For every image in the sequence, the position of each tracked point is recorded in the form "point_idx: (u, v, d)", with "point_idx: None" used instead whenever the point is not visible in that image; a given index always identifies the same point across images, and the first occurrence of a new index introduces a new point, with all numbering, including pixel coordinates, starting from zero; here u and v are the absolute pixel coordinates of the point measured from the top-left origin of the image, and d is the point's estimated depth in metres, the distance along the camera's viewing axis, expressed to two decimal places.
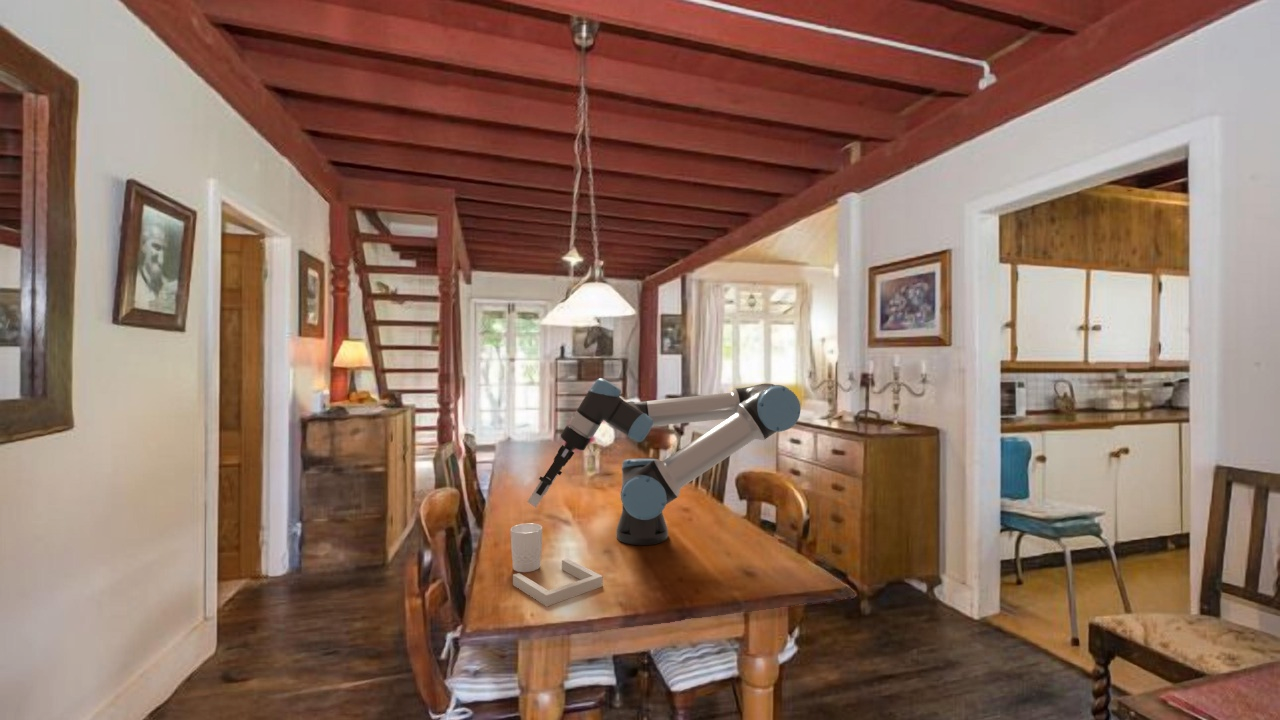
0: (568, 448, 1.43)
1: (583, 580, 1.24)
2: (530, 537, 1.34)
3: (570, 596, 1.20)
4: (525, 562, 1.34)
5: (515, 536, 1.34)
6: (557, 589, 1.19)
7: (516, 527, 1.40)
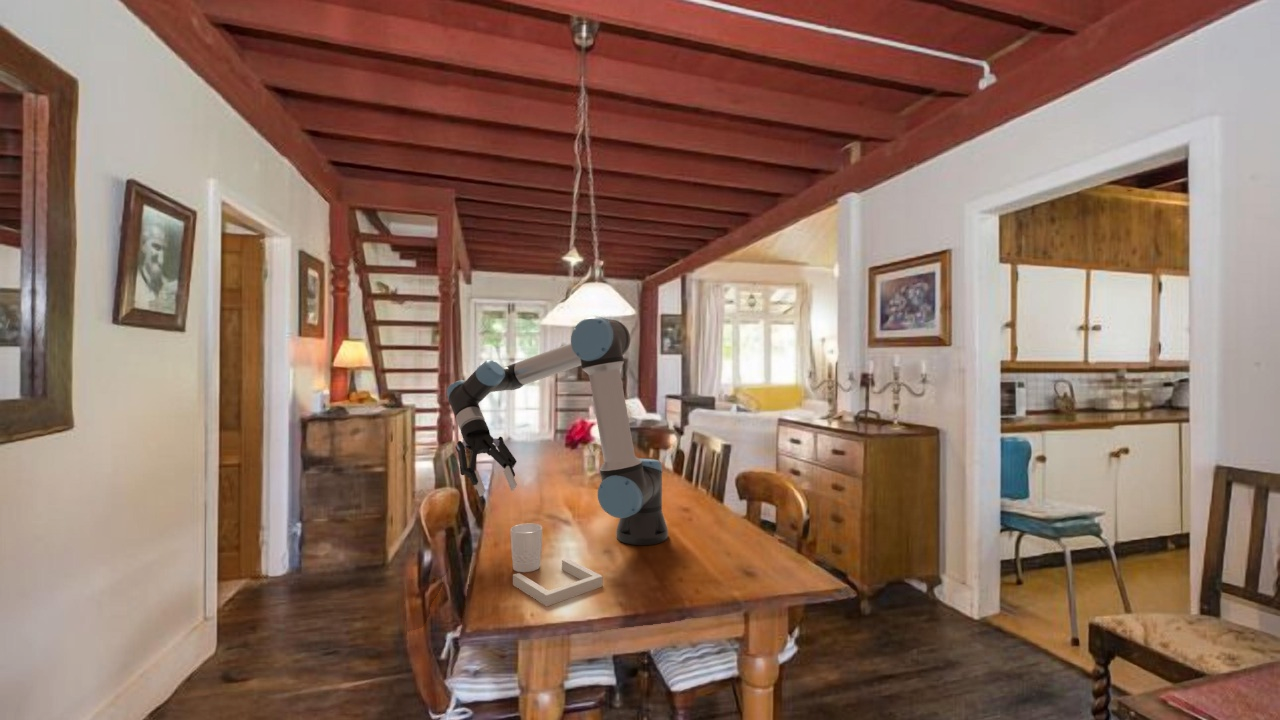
0: (465, 440, 1.55)
1: (583, 580, 1.24)
2: (530, 537, 1.34)
3: (570, 596, 1.20)
4: (525, 562, 1.34)
5: (515, 536, 1.34)
6: (557, 589, 1.19)
7: (516, 527, 1.40)
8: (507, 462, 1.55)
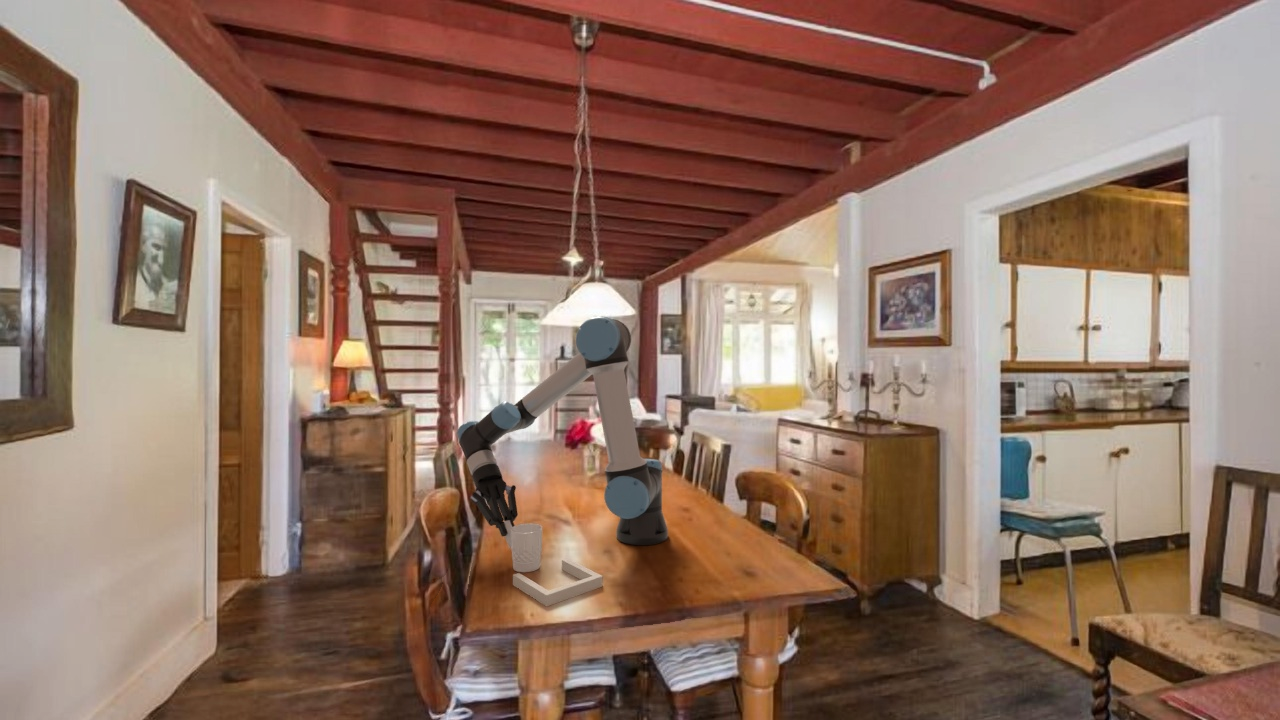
0: (476, 488, 1.47)
1: (583, 580, 1.24)
2: (531, 537, 1.34)
3: (570, 596, 1.20)
4: (525, 562, 1.34)
5: (515, 536, 1.34)
6: (557, 589, 1.19)
7: (516, 527, 1.40)
8: (508, 515, 1.45)
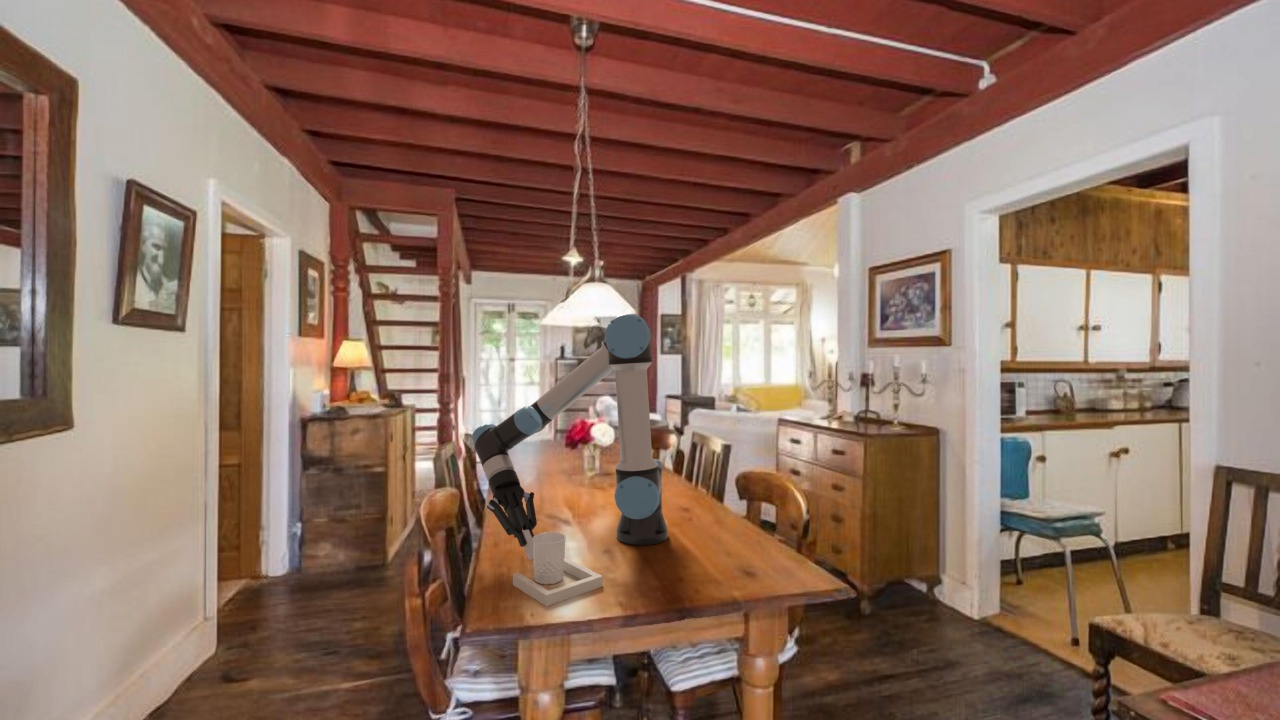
0: (493, 496, 1.40)
1: (583, 580, 1.24)
2: (553, 548, 1.27)
3: (570, 596, 1.20)
4: (547, 574, 1.27)
5: (537, 546, 1.27)
6: (557, 589, 1.19)
7: (538, 536, 1.33)
8: (527, 524, 1.37)
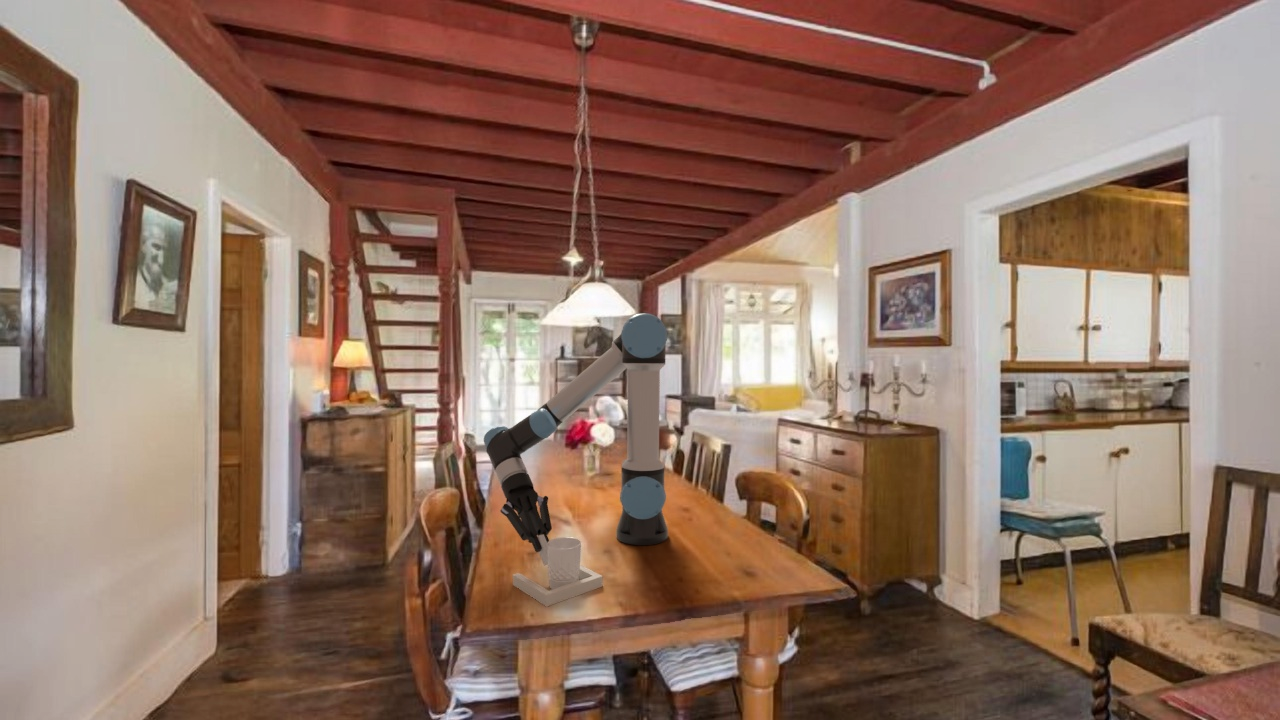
0: (507, 500, 1.36)
1: (583, 580, 1.24)
2: (567, 554, 1.23)
3: (570, 596, 1.20)
4: (561, 580, 1.23)
5: (550, 551, 1.24)
6: (557, 589, 1.19)
7: (554, 541, 1.29)
8: (542, 529, 1.34)
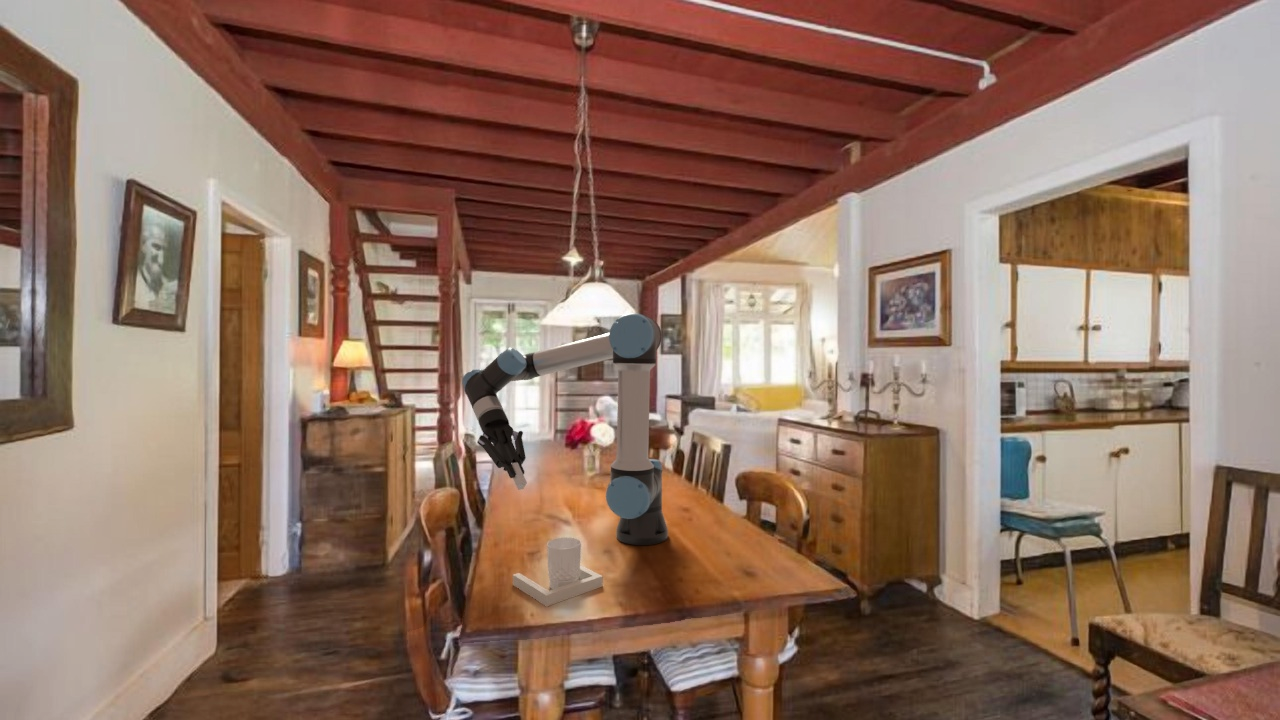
0: (483, 432, 1.46)
1: (583, 580, 1.24)
2: (567, 554, 1.23)
3: (570, 596, 1.20)
4: (561, 580, 1.23)
5: (550, 551, 1.24)
6: (557, 589, 1.19)
7: (554, 541, 1.29)
8: (516, 458, 1.43)
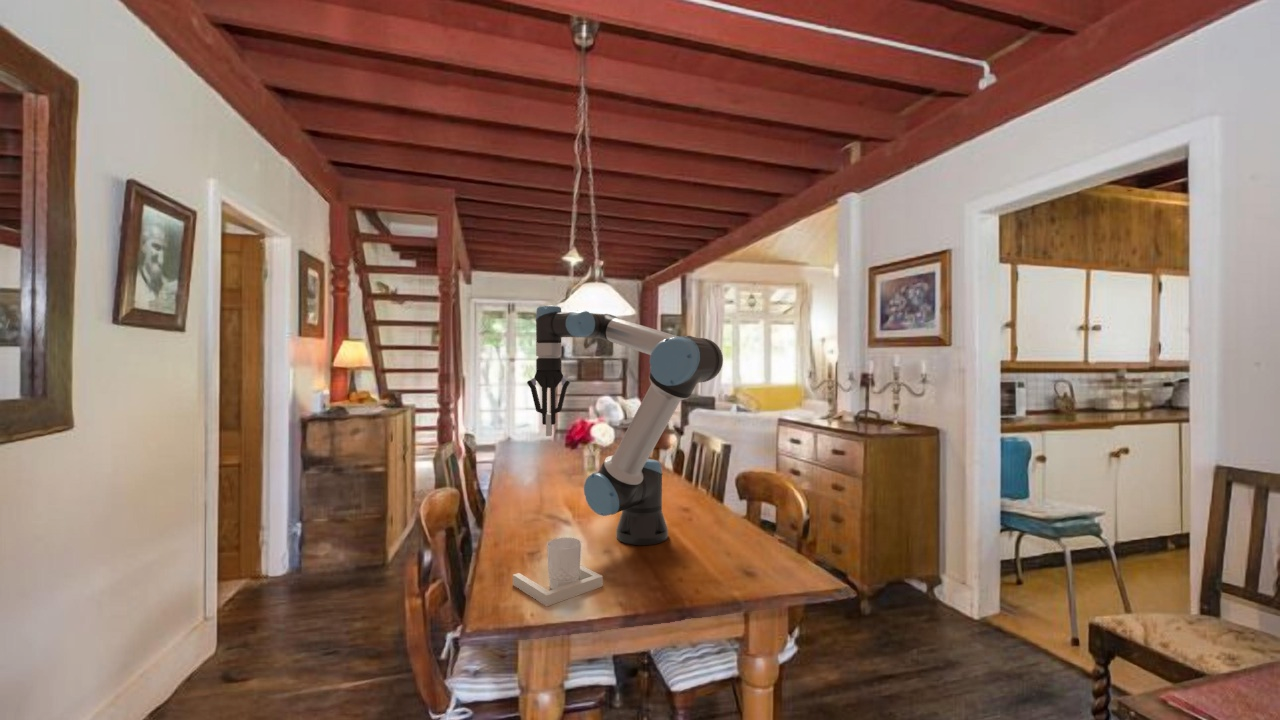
0: None
1: (583, 580, 1.24)
2: (567, 554, 1.23)
3: (570, 596, 1.20)
4: (561, 580, 1.23)
5: (550, 551, 1.24)
6: (557, 589, 1.19)
7: (554, 541, 1.29)
8: (552, 409, 1.63)
